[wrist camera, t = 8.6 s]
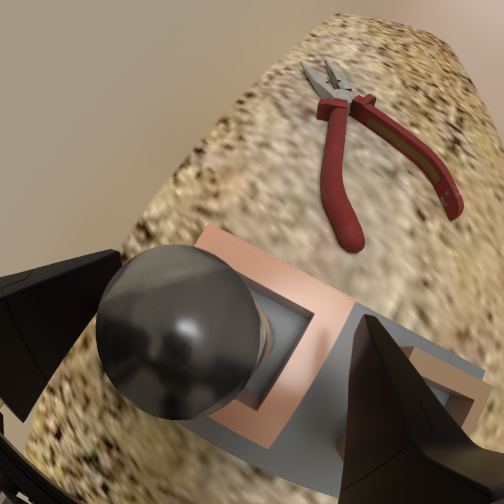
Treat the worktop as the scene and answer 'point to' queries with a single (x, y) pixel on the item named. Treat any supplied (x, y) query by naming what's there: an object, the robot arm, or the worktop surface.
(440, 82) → the worktop surface
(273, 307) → the dock plate
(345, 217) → the pliers
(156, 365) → the peg
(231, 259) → the socket
